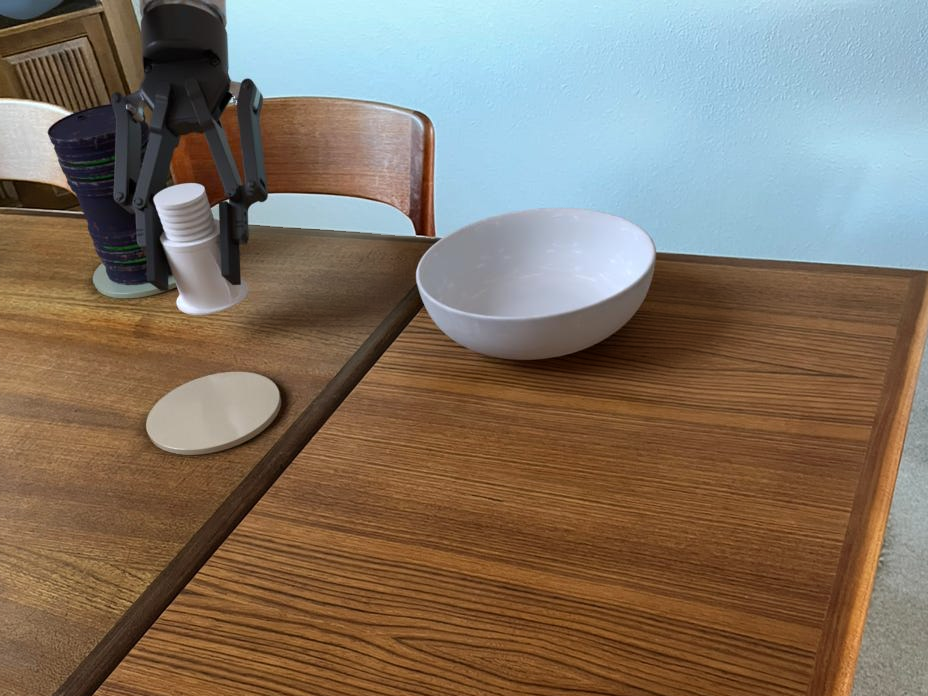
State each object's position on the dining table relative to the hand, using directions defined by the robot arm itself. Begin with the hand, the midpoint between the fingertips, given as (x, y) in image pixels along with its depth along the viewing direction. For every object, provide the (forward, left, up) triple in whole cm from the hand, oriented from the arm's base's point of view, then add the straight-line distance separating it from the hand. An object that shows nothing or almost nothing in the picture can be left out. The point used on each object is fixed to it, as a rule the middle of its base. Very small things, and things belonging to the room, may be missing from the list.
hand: (194, 282), depth 88 cm
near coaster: (+3, -10, -7) cm, 13 cm away
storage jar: (-14, +19, -7) cm, 24 cm away
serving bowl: (+31, +2, -7) cm, 32 cm away
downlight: (0, +4, -4) cm, 5 cm away
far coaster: (-14, +19, -7) cm, 24 cm away
